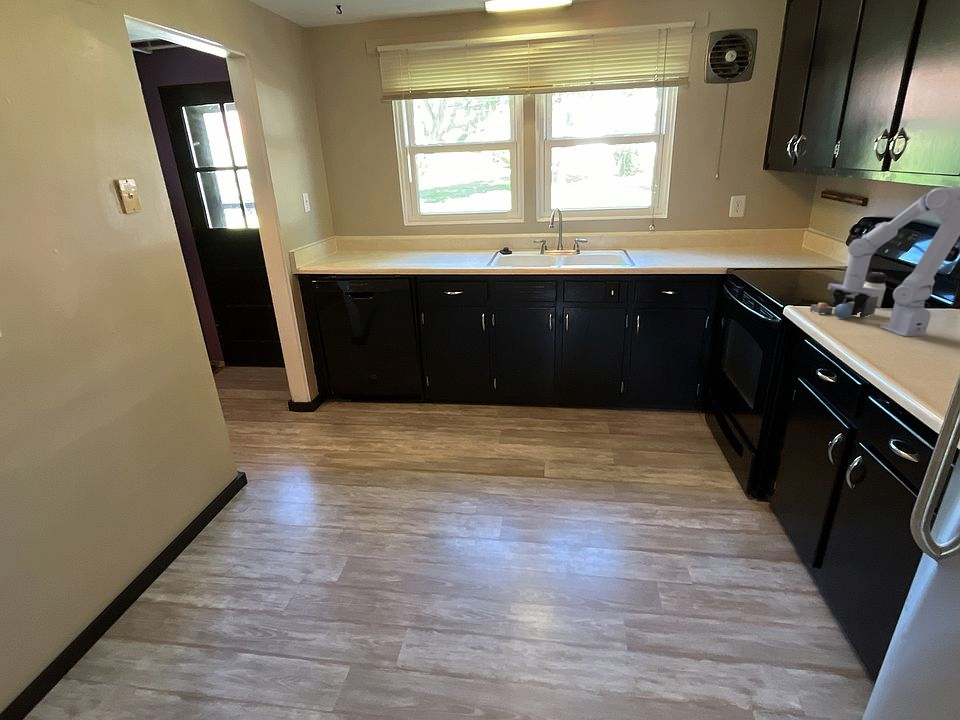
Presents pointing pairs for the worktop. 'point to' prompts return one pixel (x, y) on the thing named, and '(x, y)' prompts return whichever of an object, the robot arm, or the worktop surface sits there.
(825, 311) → the block
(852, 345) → the worktop surface
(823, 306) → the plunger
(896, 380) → the worktop surface
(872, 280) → the medicine bottle
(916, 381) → the worktop surface
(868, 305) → the block
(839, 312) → the cylinder
